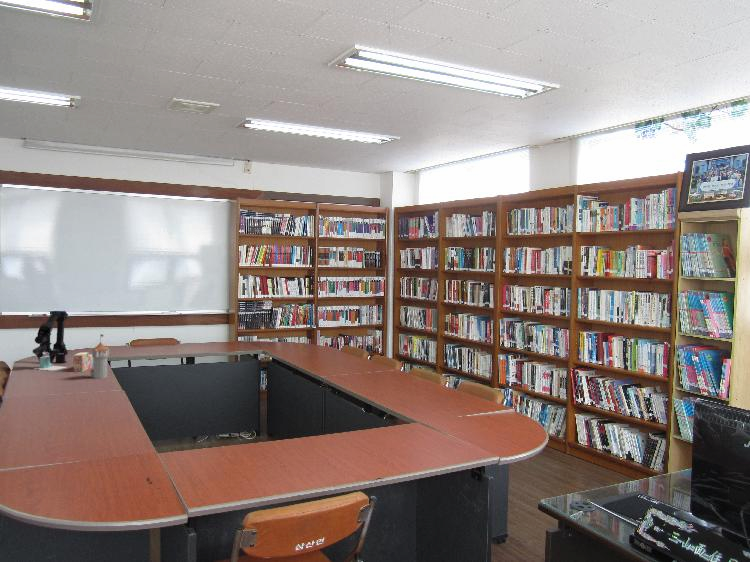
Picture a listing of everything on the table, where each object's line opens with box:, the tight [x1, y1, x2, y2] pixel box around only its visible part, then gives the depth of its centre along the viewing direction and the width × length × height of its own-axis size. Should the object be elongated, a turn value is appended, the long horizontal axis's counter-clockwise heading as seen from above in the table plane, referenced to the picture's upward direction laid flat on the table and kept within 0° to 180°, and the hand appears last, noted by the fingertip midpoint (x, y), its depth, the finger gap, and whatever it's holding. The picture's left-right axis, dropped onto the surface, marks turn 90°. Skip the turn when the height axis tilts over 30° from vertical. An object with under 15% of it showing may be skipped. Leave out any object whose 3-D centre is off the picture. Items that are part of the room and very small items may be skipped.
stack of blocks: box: [73, 351, 94, 373], centre depth 437 cm, size 21×6×12 cm, turn 6°
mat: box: [34, 365, 67, 372], centre depth 437 cm, size 14×16×1 cm
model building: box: [89, 334, 110, 379], centre depth 409 cm, size 14×12×30 cm
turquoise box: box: [39, 355, 53, 368], centre depth 438 cm, size 7×4×8 cm, turn 166°
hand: (45, 362), depth 438 cm, fingers open, 9 cm apart
